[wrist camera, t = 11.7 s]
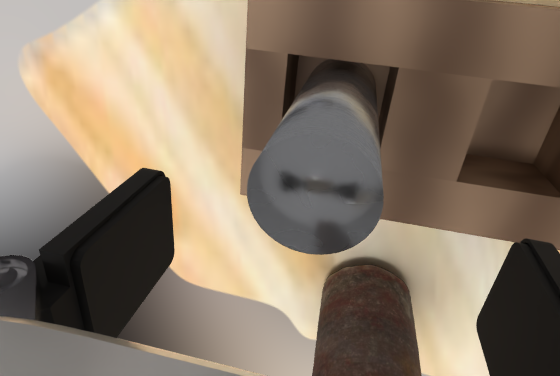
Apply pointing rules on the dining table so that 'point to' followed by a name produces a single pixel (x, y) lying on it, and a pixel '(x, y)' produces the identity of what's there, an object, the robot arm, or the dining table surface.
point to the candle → (366, 325)
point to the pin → (322, 164)
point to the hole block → (430, 103)
